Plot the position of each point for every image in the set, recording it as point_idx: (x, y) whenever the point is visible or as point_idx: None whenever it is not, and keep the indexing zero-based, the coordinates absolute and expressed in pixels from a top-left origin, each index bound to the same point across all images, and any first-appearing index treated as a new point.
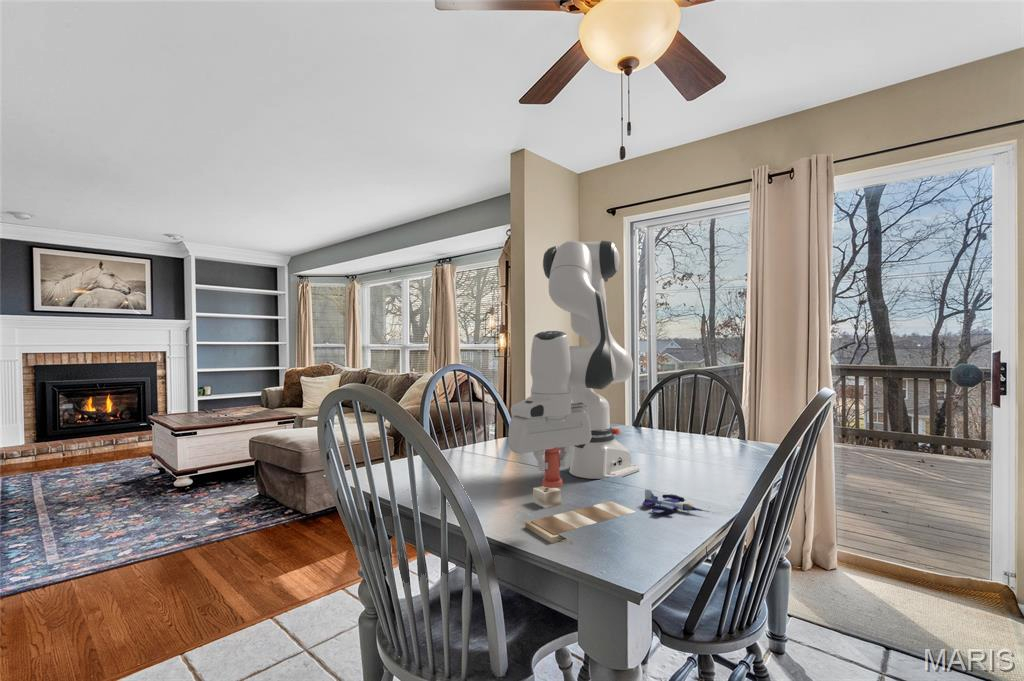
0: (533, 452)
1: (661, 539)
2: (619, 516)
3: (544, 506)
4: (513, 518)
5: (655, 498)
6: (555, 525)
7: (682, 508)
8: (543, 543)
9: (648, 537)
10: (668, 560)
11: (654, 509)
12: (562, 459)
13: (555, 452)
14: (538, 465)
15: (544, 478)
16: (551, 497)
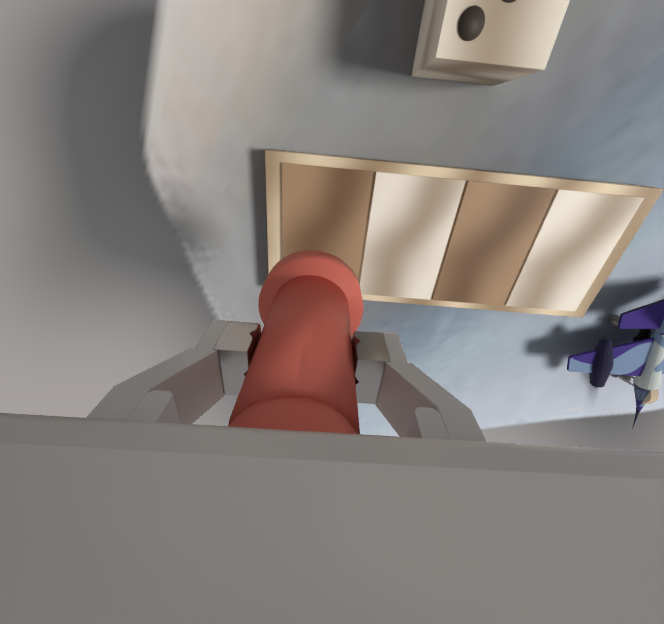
0: (102, 400)
1: (467, 393)
2: (510, 306)
3: (419, 68)
4: (278, 22)
5: None
6: (325, 245)
7: (635, 382)
8: (255, 273)
9: (460, 377)
10: (395, 433)
11: (588, 355)
12: (377, 400)
13: None
14: (205, 335)
15: (288, 274)
16: (469, 67)
